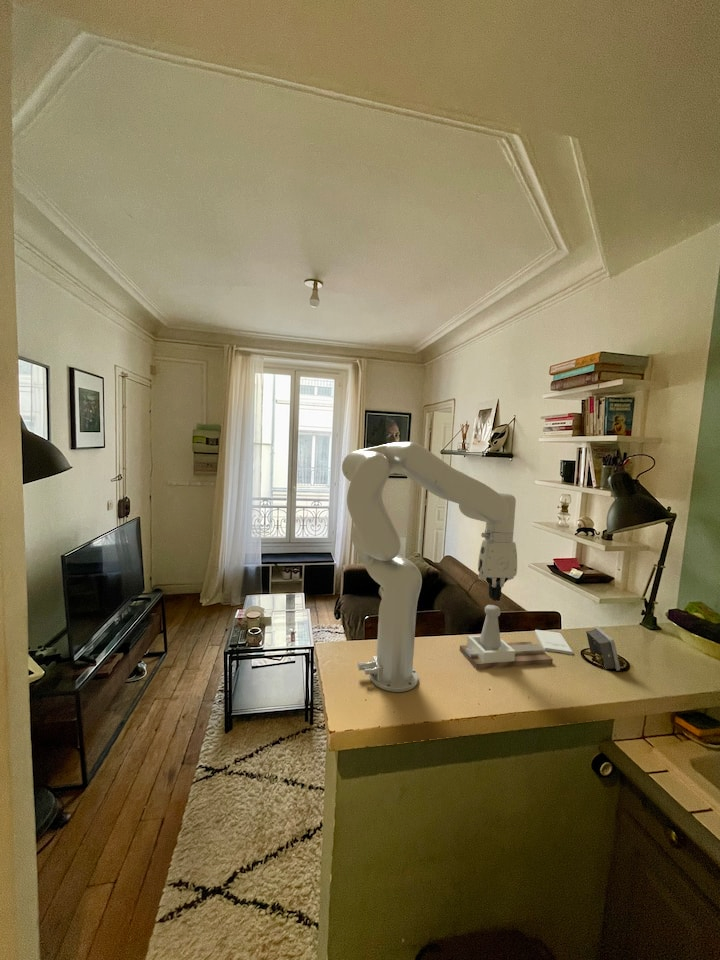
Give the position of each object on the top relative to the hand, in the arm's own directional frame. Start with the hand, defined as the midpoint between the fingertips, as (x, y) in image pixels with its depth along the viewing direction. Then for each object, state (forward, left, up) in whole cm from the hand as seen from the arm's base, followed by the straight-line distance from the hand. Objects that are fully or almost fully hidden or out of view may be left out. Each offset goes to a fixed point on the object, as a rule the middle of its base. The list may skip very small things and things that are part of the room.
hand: (494, 598), depth 108 cm
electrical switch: (+33, -6, -18) cm, 38 cm away
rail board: (+5, 0, -18) cm, 18 cm away
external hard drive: (+26, +6, -19) cm, 33 cm away
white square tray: (0, 0, -16) cm, 16 cm away
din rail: (+5, 0, -16) cm, 17 cm away
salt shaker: (0, 0, -15) cm, 15 cm away
